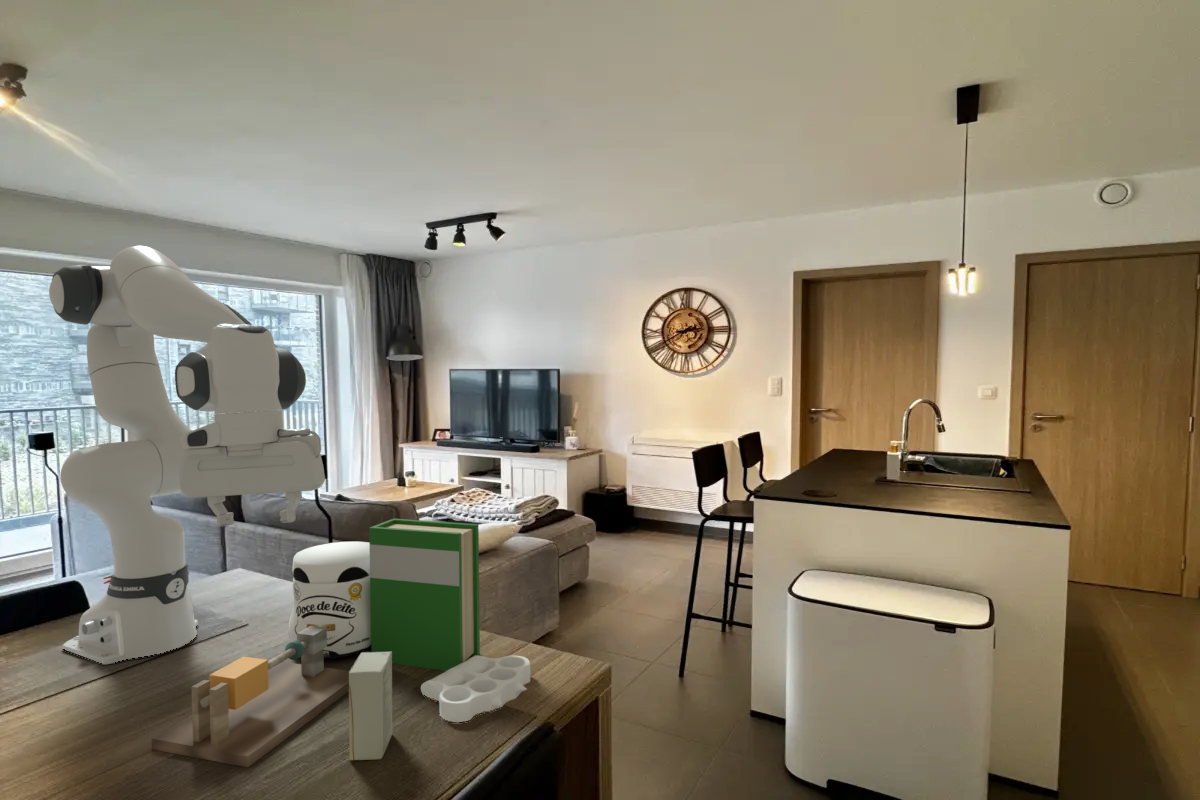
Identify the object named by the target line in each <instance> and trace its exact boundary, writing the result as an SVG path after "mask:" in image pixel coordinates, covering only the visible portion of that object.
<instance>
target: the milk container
mask: <svg viewBox="0 0 1200 800" xmlns="http://www.w3.org/2000/svg"><path fill="white" fill-rule="evenodd" d="M292 577H293V578H292V590H293V594H292V595H293V601H292V602H293V603H292V609H291V613H290V616H289V621H288V636H289V641H290V642H292V641H294V640H297V633H298V632H300V631H302V630H304V629H306V628H308V627H309V626H315V627H324V628H327V647H325V648H324V649H323V657H324V660H325V659H326V660H327V659H338V658H344V657H345V658H346V657H350V656H352V655H356V654H359V653H360V654H361V653H362V652H366V650H369V649H370V648H371V600H370V542H368V541H367V542H366V541H340V542H339V541H337V542H329V543H324V544H318V545H314V546H311V547H307V548H304V549H302V550H300V551H298V552H296V553H295V555H294V556H293V560H292ZM290 642H289V643H290Z"/></svg>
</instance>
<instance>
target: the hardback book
mask: <svg viewBox="0 0 1200 800" xmlns="http://www.w3.org/2000/svg"><path fill="white" fill-rule="evenodd" d="M368 530H369V531H368V533H369V536H368V537H369V543H370V600H371V651H370V652H390V651H391V652H392V664H397V665H405V666H411V667H419V668H426V669H433V670H439V671H440V670H442V671H447V670H449V669H451V668H453V667H456V666H457V665H459V664H461V663H463V662H465V661H467V660H468V659H469V658H470V657H471V656H472V657H473V656H475V655H478V656H480V655H481V647H480V645H481V642H480V633H481V632H480V631H481V630H480V626H481V625H480V555H479V553H480V550H479V547H480V546H479V539H480V538H479V537H480V536H479V524H477V523H466V522H465V523H463V522H451V521H435V520H421V519H420V520H419V519H405V518H404V519H403V518H391V519H388V520H386V521H383V522H381V523H378V524H376V525H373V526H369V528H368Z"/></svg>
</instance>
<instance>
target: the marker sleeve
mask: <svg viewBox="0 0 1200 800" xmlns="http://www.w3.org/2000/svg"><path fill="white" fill-rule="evenodd" d="M268 661H269V659H265V658H257V657H251V656H250V657H249V656H241V657H240V658H238V659H236V660H234V661H232V662H231V663H229V664H227V665H225V666H223V667H221V668H219V669H218V670H215V671H214V672H211V673H210V674H208V680H209V681H210V689H211V688H213V687H215V686H216V685H218V684H220V683H228V709H233V710H236V709H238V708H239V707H241V706H243V705H244V704H246V703H247V702H249V701H250V700H252V699H254V698H255V697H257V696H258V695H260V694H262V693H263V692H265V691H266V690H268V689H269V686H268Z"/></svg>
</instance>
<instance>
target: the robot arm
mask: <svg viewBox="0 0 1200 800" xmlns="http://www.w3.org/2000/svg"><path fill="white" fill-rule="evenodd" d="M48 293H49V294H48V295H49V300H50V303H51V304H52V307H53V309H54V312H55V314H56V315H58V317H59V318H60V319H62V320H63V321H64V322H68V323H72V324H79V325H88V324H92V326H90V328H89V330H88V332H87V337H86V360H87V368H88V373H89V379H90V380H89V381H90V382H91V383H90V384H91V388H92V393H93V397H94V402H95V403H94V404H95V407H96V410H97V413H98V415H99V416H100V417H101V418H102V419H103V420H104V421H105V422H107V423H109V424H110V425H113V426H115V427H118V428H121V429H122V430H126V431H127V432H128V433H130V434H131V435H132V436H133V437H134V438H135V440H127V441H126V440H125V441H117V442H105V443H104V442H103V443H100V444H96V445H90V446H88V447H83V448H80V449H77V450H73V451H72V452H71V453H70V455H68V456H67V458H66V459H65V461H64V462H63V464H62V466H61V470H60V475H59V476H60V483H61V486H62V489H63V491H64V492H65V493H66V495H67V496H68V497H69V498H70V499H72V501H74V502H76V503H77V504H80V505H82V506H84V507H86V508H88V509H90V510H91V511H92V512H93V513H94V514H96V515H97V516H98V517H99V518H100V519H101V520H102V522H103V523H104V525H105V526H106V529H107V530H108V533H109V537H110V540H111V547H112V548H111V549H112V555H113V556H112V557H113V559H112V560H113V570H114V571H113V572H114V573H113V574H111V575H107V576H106V577H103V580H105V581H104V582H103V583H102V584H108V586H107V590H106V594H105V595H104V596H103V597H102V598H101V599H100V600H98V601H97V602H95V604H93V605H92V606H91V607H90V608H89V609H87V610H85V612H83V614H82V615H81V617H80V619H79V623H78V624H79V625H78V635H76V636H74V637H72V638H71V639H69V640H67V641H65V642H64V643H63V644H62V649H65V650H67V651H71V652H74V653H76V654H79V655H81V656H84V657H87V658H89V659H92V660H94V661H96V662H95V663H97V662H99V663H98V664H100V663H102V664H101V665H110V664H115V662H116V663H119V662H118V661H120V662H122V660H124V661H127V660H126V659H128V660H133V659H132V658H135V659H139V658H138V657H142V658H145V657H144V656H148V657H151V656H150V655H153V656H155V655H154V654H157V655H160V653H161V654H164V652H165V653H167V652H166V651H168V652H171V651H174V650H177V649H179V648H182V647H184V646H185V644H186V645H187V644H190V643H191V642H192V641H193V639H194V638H195V637H196V638H197V636H198V631H197V628H196V626H197V625H198V626H199V620H198V619H196V618H195V614H194V608H193V601H192V595H191V594H192V593H191V589H190V588H189V587H188V584H189V581H190V580H189V579H190V578H189V575H190V571H189V567H188V564H187V563H186V549H185V548H186V547H185V545H186V544H185V543H186V542H185V541H186V540H185V539H186V538H185V530H184V527H183V526H182V524H181V523H180V522H179V521H178V520H177V519H176V518H173V517H170V516H167V515H164V514H161V513H157V512H155V511H154V509H153V507H152V502H151V501H152V498H155V497H162V496H168V495H169V496H170V495H176V494H183V495H184V497H186V498H188V499H193V498H207V505H208V507H209V508H210V509H211V511H212V513H214V515H215V516H216V523H217V527H228V526H231V525H234V523H235V519H234V512H233V511H232V512H231V511H230V512H229V511H228V509H227V508H226V507H225V505H224V502H225V501H226V497H229V496H241V495H242V496H244V495H245V496H246V495H262V494H263V495H264V494H279V493H281V494H282V493H284V494H285V500H289V501H288V503H287V505H286V507H285V509H283V510H281V511H279V517H280V518H279V521H280V523H281V524H282V523H283V524H284V523H285V524H286V523H293V522H295V521H296V519H297V518H296V516H297V515H296V509H297V508H298V505H299V503H300V502H301V499H302V497H303V493H302V492H311V491H315V490H317V489H320V488H322V487H323V485H324V483H325V481H326V475H325V468H324V464H323V459H322V455H321V451H322V444H321V443H322V442H321V437H320V435H319V434H318V433H317V432H315V431H312V430H311V428H306V427H303V428H299V429H296V428H295V429H293V428H291V429H286V428H285V429H284V425H283V424H284V423H283V410H288V408H290V407H291V406H293V404H294V403H296V402H297V401H298V400H299V398H300V397H301V395H303V393H304V391H305V389H306V384H307V378H306V372H305V369H304V367H303V365H302V364H301V362H300V361H299V359H298V358H297V357H296V355H294V354H293V353H292V352H290V351H289V350H288V349H286V348H282V347H279V346H278V345H276V344H275V341H274V338H273V335H272V331H270V329H268V328H266V327H264V326H261V325H257V324H253V323H251V322H250V321H249V320H248V319H247V318H245V317H244V316H243V315H242V314H241V313H240V312H238V311H237V310H236V309H234V308H233V307H231V306H229V305H227V303H226V304H225V303H224V302H221V301H220V300H218V299H217V298H216V297H214V296H212V295H211V294H208V293H207V292H206V291H205V290H204V289H202V288H200V286H198V285H196V284H195V283H194V282H193V281H192V280H191V279H190V278H189V277H188V276H187V274H186V273H185V272H184V271H183V270H182V269H181V268H180V266H178V265H177V264H176V263H175V262H174V261H173V260H172V259H170V258H169V257H168V256H166V255H165V254H163V253H162V252H160V251H159V250H157V249H155V248H152V247H149V246H144V245H135V246H129V247H125V248H124V249H122V250H120V251H118V252H117V254H115V255H114V256H113V258H112V260H111V261H110V265H109V266H105V265H104V266H103V265H102V266H100V265H94V266H93V265H91V264H78V265H77V264H75V265H68V266H63V267H61V268H60V269H58V270H56V272H54V273H53V274H52V278H51V282H50V284H49V290H48ZM154 336H157V337H161V338H167V339H174V340H175V339H176V340H181V341H182V340H184V341H192V342H200V343H205V345H204V346H202V347H200V349H197V350H196V351H191V352H188V353H187V354H186V355H185V356H184V357H183V358H182V359H180V361H179V362H178V363H177V364H176V366H175V369H174V382H175V383H174V384H175V390H176V391H175V392H176V395H177V397H178V399H179V400H180V401H182V403H183V404H185V405H186V407H188V408H190V409H192V410H193V411H199V412H214V415H213V416H214V422H213V421H212V422H211V423H208V424H206V425H203V426H201V427H198V428H195V429H194V430H193V429H191V428H190V427H189V426H187V425H186V424H185V422H183V420H182V419H181V418H180V416H178V414H177V413H176V411H175V410H174V408H173V407H172V405H171V402H170V399H169V396H168V393H167V390H166V386H165V383H164V379H163V376H162V371H161V367H160V363H159V360H158V357H157V354H156V350H155V348H154V343H153V342H154V340H153V339H154ZM107 579H108V580H107ZM198 626H197V627H198ZM196 635H197V636H196ZM196 638H195V639H196ZM195 639H194V640H195ZM191 640H192V641H191ZM190 641H191V642H190ZM176 648H177V649H176ZM173 649H174V650H173ZM170 650H171V651H170ZM89 659H88V660H89ZM92 660H91V661H92ZM94 661H93V662H94Z"/></svg>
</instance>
